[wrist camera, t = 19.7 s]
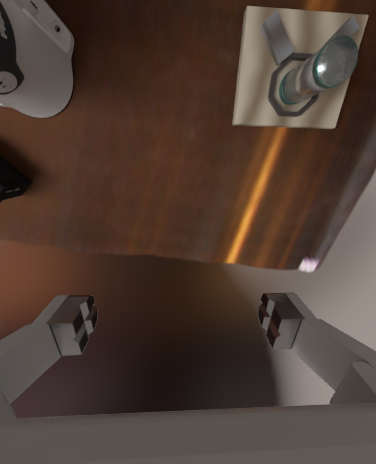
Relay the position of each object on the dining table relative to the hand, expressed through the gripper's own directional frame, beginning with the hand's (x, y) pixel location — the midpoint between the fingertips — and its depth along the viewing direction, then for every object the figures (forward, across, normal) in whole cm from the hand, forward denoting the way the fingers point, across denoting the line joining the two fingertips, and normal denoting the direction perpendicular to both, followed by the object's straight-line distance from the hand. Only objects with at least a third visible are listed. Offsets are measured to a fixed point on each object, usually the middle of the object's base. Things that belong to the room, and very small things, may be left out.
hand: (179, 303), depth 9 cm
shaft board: (+34, -20, -20) cm, 45 cm away
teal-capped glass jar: (+33, -20, -18) cm, 43 cm away
